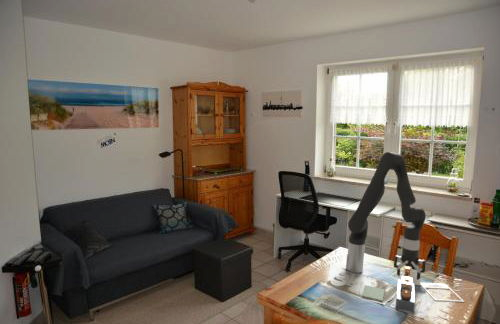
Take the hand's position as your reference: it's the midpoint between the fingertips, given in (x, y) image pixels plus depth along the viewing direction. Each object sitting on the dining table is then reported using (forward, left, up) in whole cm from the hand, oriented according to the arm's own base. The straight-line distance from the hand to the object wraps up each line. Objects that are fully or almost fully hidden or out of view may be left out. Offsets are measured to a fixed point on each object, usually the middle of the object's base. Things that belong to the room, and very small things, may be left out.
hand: (408, 277), depth 174 cm
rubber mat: (-15, -3, -11) cm, 19 cm away
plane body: (0, -1, -11) cm, 11 cm away
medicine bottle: (+3, +21, -12) cm, 24 cm away
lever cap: (0, 0, -6) cm, 6 cm away
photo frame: (+17, +16, -12) cm, 26 cm away
